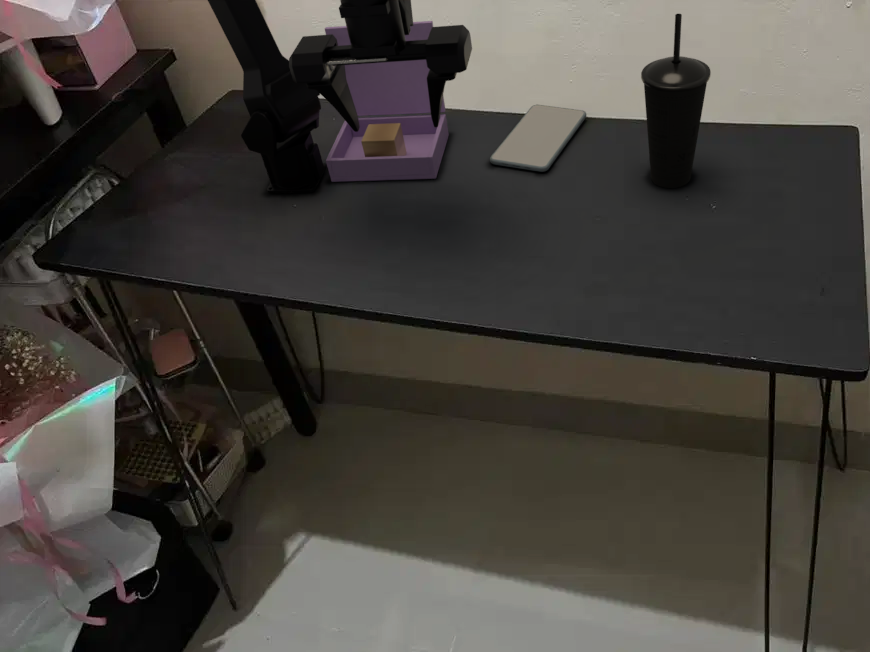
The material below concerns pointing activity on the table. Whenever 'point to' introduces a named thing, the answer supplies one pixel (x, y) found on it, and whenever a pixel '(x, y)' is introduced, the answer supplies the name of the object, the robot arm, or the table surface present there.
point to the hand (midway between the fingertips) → (396, 127)
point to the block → (383, 140)
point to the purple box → (417, 163)
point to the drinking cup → (674, 113)
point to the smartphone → (538, 138)
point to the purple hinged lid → (389, 79)
